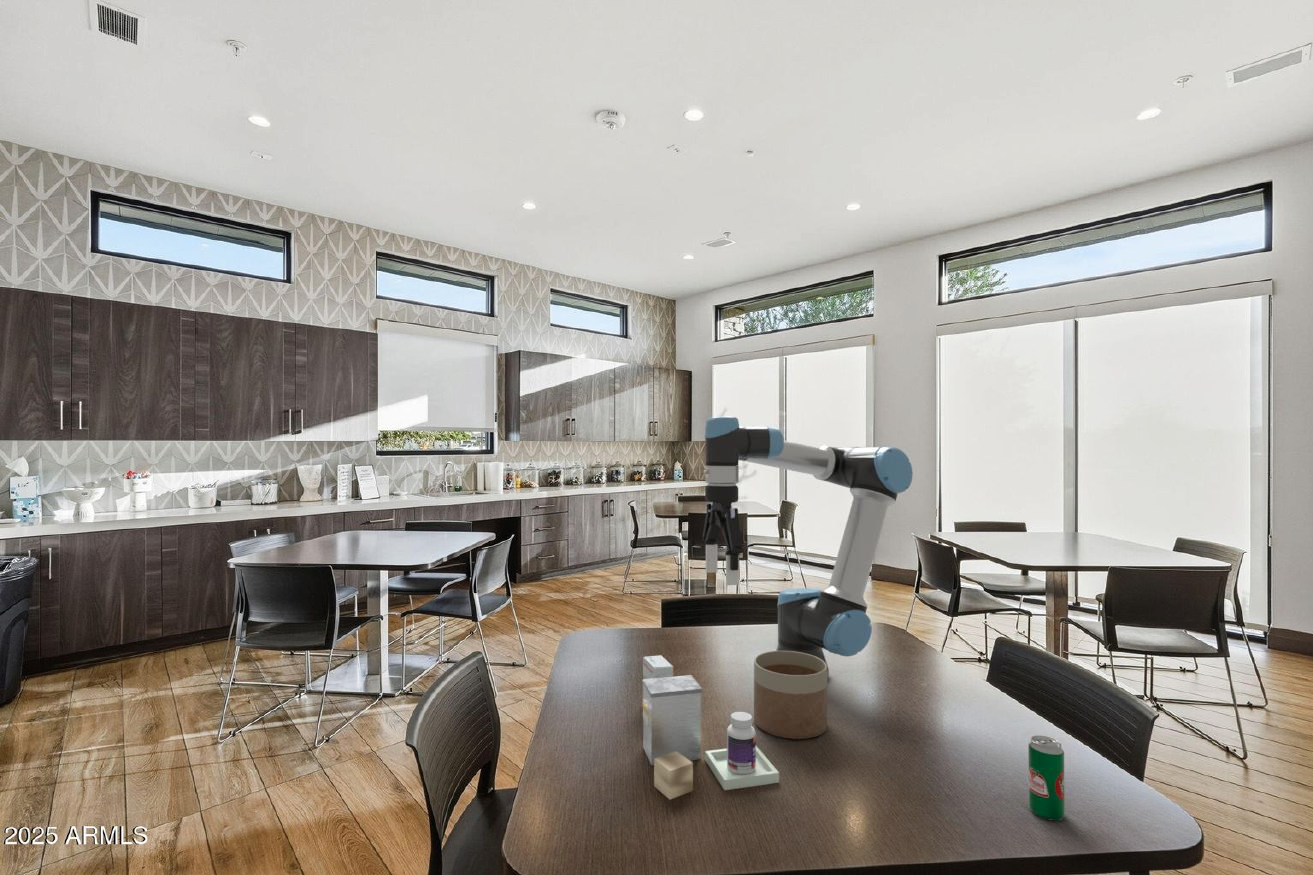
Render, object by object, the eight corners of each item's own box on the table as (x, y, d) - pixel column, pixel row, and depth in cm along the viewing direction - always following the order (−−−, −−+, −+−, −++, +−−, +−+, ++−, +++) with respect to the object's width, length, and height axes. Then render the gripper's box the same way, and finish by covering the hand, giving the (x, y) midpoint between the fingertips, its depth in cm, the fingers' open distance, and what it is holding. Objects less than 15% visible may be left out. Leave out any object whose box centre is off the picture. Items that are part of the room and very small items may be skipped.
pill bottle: (759, 774, 111) (759, 721, 111) (731, 776, 110) (731, 723, 110) (750, 759, 116) (750, 708, 117) (723, 761, 116) (723, 710, 116)
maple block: (676, 778, 111) (676, 751, 111) (692, 791, 107) (692, 762, 107) (654, 786, 108) (654, 758, 108) (669, 800, 104) (669, 771, 104)
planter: (747, 734, 128) (747, 669, 128) (760, 705, 143) (761, 647, 143) (824, 747, 122) (824, 679, 123) (829, 715, 137) (829, 655, 138)
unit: (692, 741, 125) (692, 674, 125) (703, 759, 118) (704, 688, 118) (640, 747, 122) (640, 679, 122) (648, 766, 115) (649, 693, 115)
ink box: (674, 718, 135) (674, 665, 136) (654, 721, 134) (654, 668, 134) (661, 703, 144) (661, 653, 144) (641, 706, 142) (642, 655, 142)
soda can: (1021, 805, 103) (1021, 734, 103) (1049, 803, 103) (1049, 733, 103) (1043, 823, 98) (1042, 749, 98) (1072, 821, 98) (1071, 748, 98)
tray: (755, 753, 120) (755, 744, 120) (778, 782, 109) (779, 772, 109) (705, 760, 117) (705, 751, 117) (724, 790, 107) (724, 780, 107)
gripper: (689, 481, 147) (689, 568, 147) (725, 488, 123) (725, 591, 123) (718, 481, 149) (718, 566, 149) (759, 487, 125) (759, 589, 125)
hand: (721, 578), depth 136 cm, fingers open, 13 cm apart
